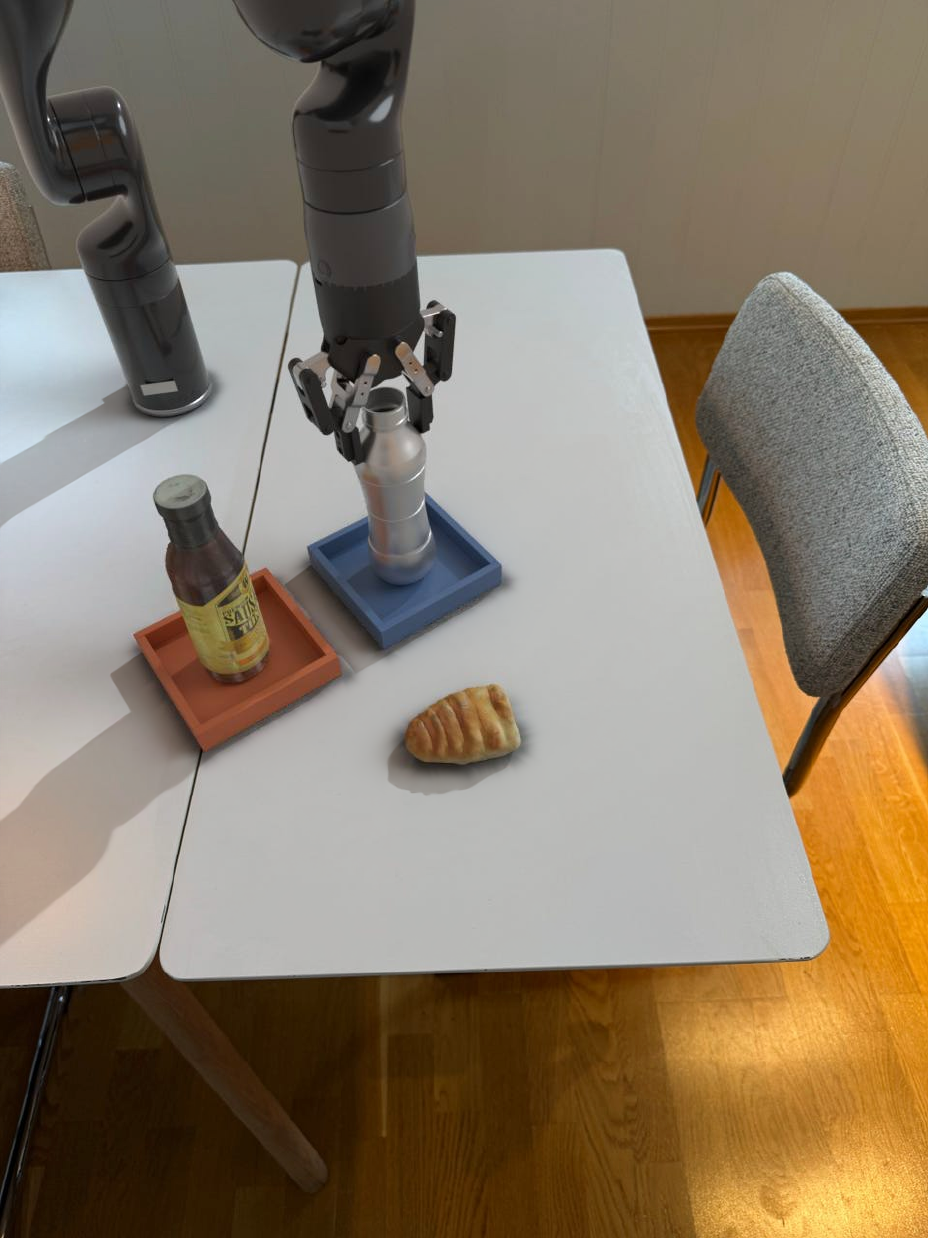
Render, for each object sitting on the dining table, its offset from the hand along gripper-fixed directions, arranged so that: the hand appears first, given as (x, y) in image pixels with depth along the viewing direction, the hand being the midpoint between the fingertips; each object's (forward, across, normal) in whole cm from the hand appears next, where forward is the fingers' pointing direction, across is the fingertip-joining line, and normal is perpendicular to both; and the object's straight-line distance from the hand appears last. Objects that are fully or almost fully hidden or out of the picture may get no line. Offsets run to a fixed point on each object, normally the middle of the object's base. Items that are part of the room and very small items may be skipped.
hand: (386, 442), depth 76 cm
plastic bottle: (+16, 0, 0) cm, 16 cm away
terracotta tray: (+16, +18, 0) cm, 24 cm away
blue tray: (+16, 0, 0) cm, 16 cm away
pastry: (+16, +6, +19) cm, 26 cm away
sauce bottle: (+16, +18, 0) cm, 24 cm away
